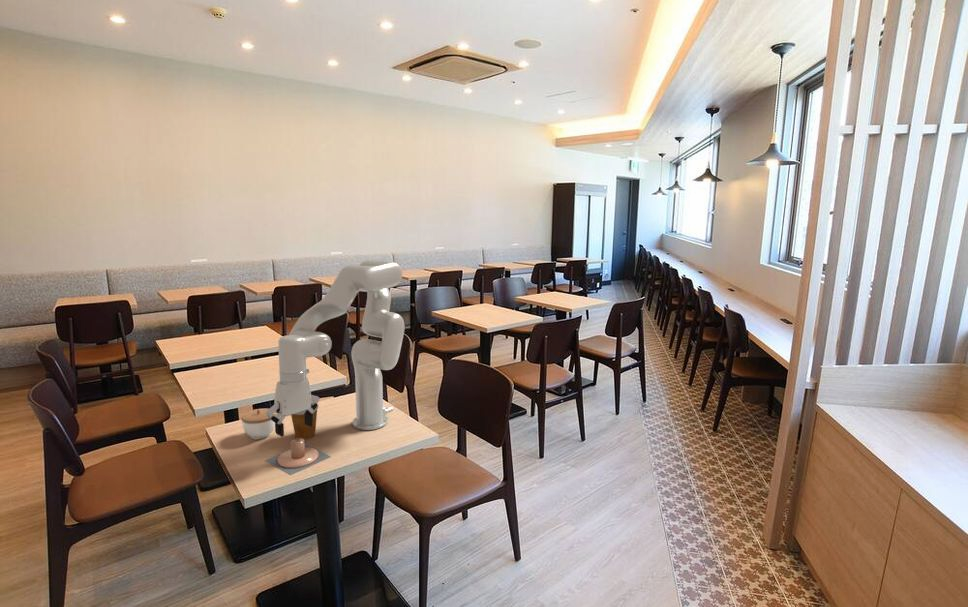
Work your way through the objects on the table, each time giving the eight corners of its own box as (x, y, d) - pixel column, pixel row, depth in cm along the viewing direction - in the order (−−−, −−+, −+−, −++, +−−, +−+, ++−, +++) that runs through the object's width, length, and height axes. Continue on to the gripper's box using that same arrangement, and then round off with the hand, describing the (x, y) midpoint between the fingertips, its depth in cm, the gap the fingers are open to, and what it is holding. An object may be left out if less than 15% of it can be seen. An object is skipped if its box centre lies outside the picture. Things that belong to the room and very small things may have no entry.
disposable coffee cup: (324, 436, 169) (323, 404, 166) (297, 445, 162) (295, 411, 160) (312, 428, 175) (310, 396, 173) (285, 436, 169) (283, 403, 167)
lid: (304, 446, 160) (303, 429, 159) (326, 456, 153) (325, 439, 152) (269, 460, 151) (268, 442, 150) (291, 472, 144) (290, 454, 143)
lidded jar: (238, 435, 169) (236, 409, 168) (269, 426, 177) (268, 401, 175) (249, 445, 162) (247, 418, 160) (282, 435, 169) (280, 410, 167)
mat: (305, 445, 162) (305, 444, 162) (331, 458, 154) (331, 456, 154) (265, 462, 151) (264, 460, 151) (290, 476, 143) (290, 474, 143)
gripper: (310, 367, 156) (312, 418, 159) (258, 380, 143) (261, 435, 145) (325, 372, 152) (326, 424, 155) (272, 385, 138) (275, 442, 141)
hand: (294, 430), depth 150 cm, fingers open, 9 cm apart
